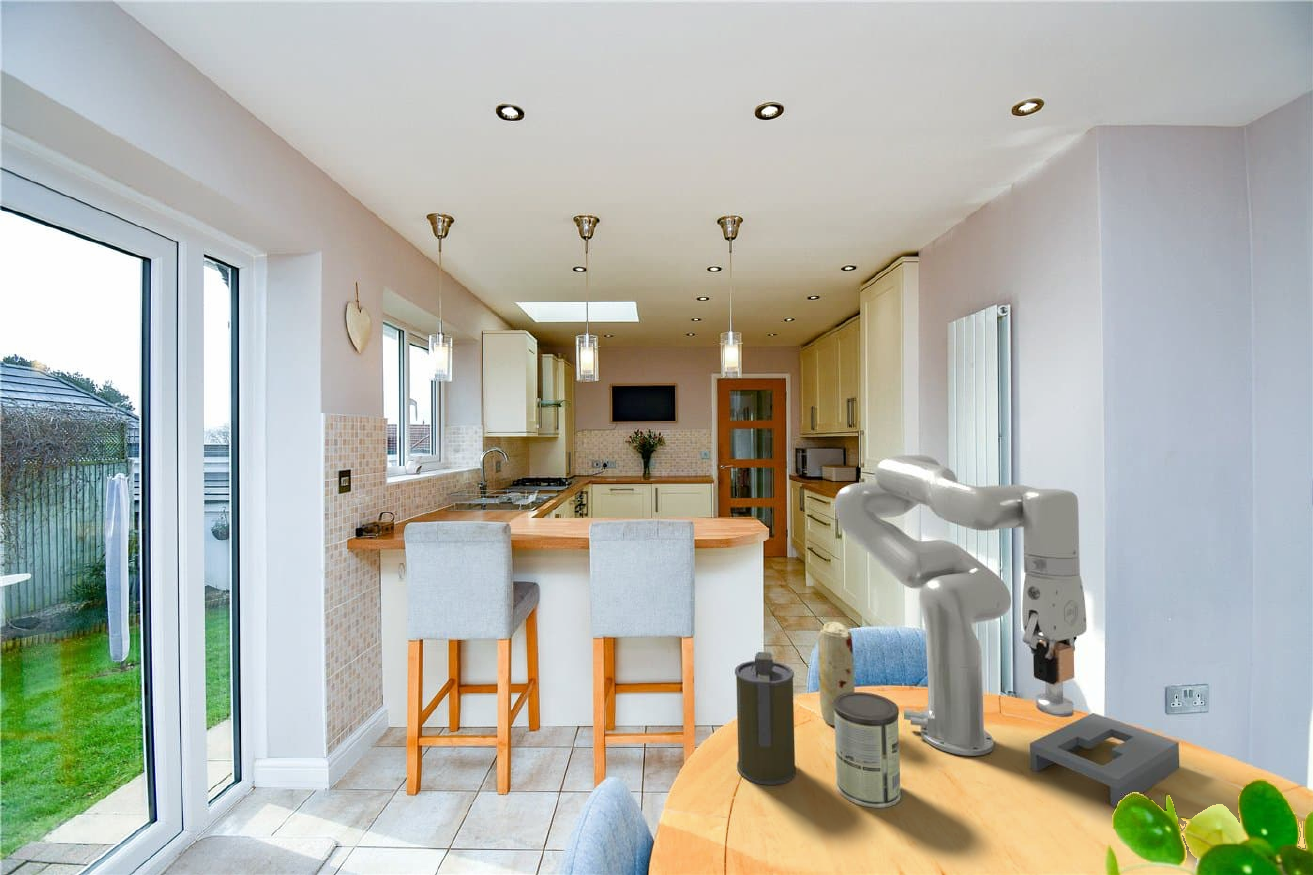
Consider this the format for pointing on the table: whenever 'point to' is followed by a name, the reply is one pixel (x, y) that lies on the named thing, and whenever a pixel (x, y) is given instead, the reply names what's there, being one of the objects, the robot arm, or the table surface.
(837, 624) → the food model
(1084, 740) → the keyhole board
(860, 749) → the coffee can
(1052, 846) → the table surface
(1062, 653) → the peg
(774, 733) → the canister
